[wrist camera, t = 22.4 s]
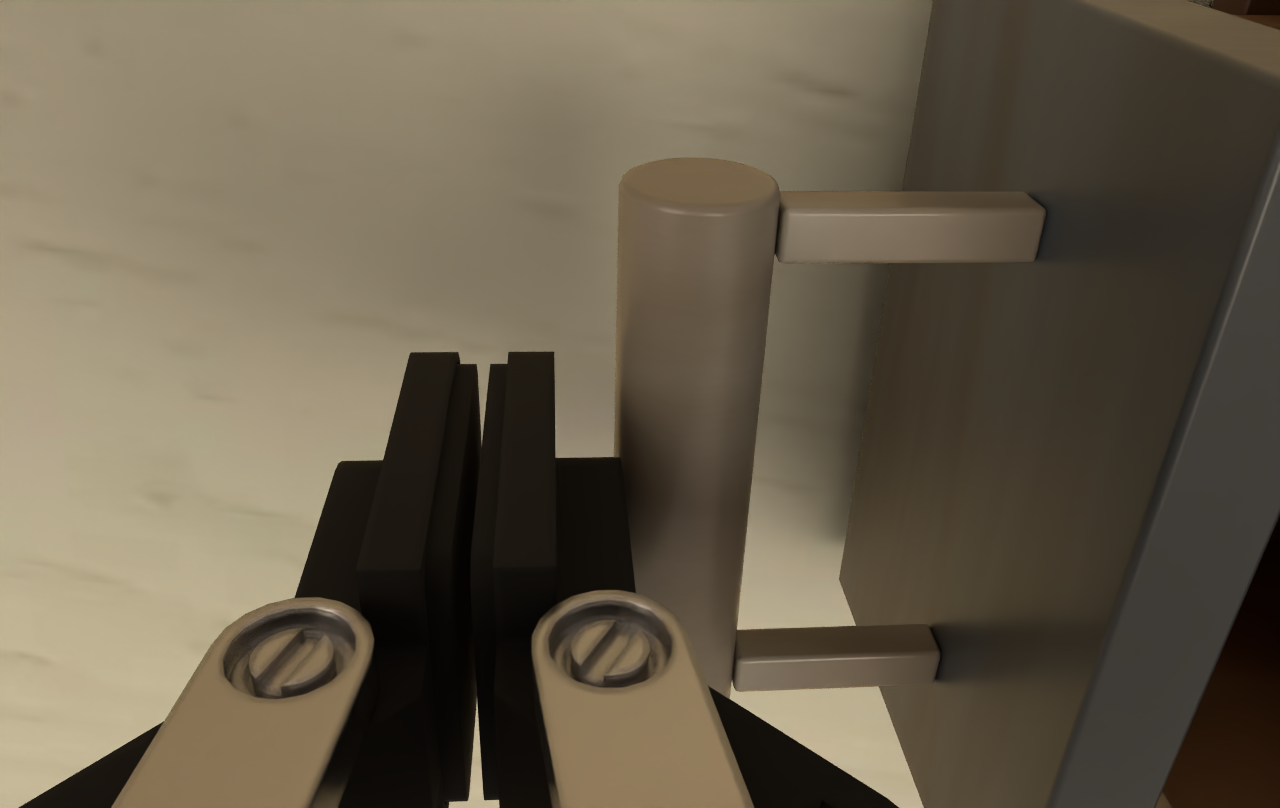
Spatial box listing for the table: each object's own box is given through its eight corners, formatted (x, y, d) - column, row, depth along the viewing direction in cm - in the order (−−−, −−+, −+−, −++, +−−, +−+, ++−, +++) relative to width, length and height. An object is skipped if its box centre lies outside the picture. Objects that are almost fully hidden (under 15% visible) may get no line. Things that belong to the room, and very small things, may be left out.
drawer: (595, 587, 18) (621, 1010, 12) (602, -61, 13) (654, 79, 6) (1489, 560, 19) (1938, 926, 13) (1827, -36, 14) (2852, 101, 8)
